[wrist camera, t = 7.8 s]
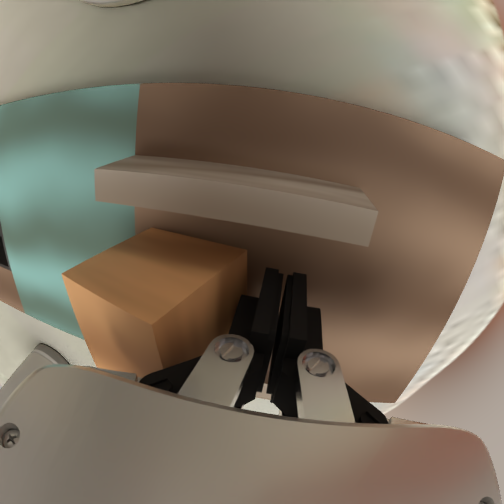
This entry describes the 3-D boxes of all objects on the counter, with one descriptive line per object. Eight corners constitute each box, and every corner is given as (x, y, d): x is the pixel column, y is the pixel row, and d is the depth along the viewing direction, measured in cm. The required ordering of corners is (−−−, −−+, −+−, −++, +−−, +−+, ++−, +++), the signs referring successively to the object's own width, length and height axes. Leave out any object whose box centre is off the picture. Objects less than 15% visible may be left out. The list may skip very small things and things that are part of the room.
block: (151, 227, 13) (61, 273, 9) (247, 250, 11) (151, 324, 7) (165, 314, 15) (97, 368, 11) (247, 348, 13) (181, 425, 9)
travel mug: (80, 369, 27) (-4, 504, 9) (71, 387, 30) (1, 502, 12) (39, 333, 26) (-57, 456, 8) (35, 356, 29) (-43, 463, 11)
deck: (-28, 117, 16) (-82, 133, 9) (467, 148, 13) (546, 177, 6) (-9, 263, 23) (-51, 295, 17) (385, 362, 20) (401, 438, 14)
